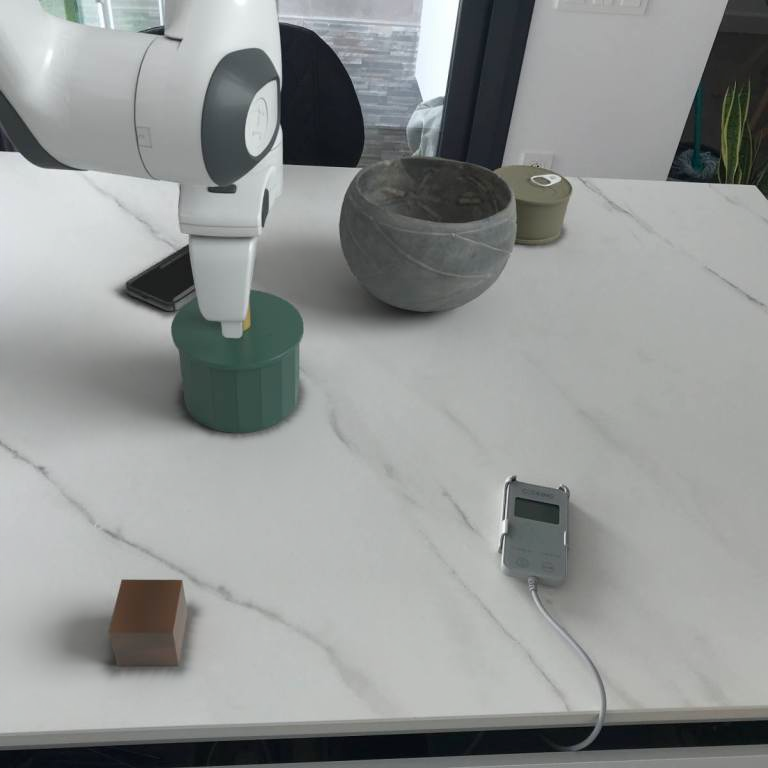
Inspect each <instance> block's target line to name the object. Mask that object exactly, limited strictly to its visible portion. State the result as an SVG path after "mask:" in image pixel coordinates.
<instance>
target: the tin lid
mask: <svg viewBox="0 0 768 768" xmlns="http://www.w3.org/2000/svg"><path fill="white" fill-rule="evenodd" d="M304 327H305V326H304V319H303V317H302V315H301V313H300V312H299V310H298V309H297V307H295V306H294V305H293V304H291V302H289V301H287V299H284V298H283V297H280V296H278V295H275V294H273V293H270V292H266V291H261V290H255V289H250V296H249V304H248V312H247V316H246V318H245V320H244V321H243V332H242V336H241V337H240V338H226V337H224V336H223V335H222V325H221V322H220V321H208V320H206V319H205V318H204V317H203V315H202V313H201V311H200V308H199V305H198V300H197V297H196V298H194V299H193V300H191V301H190V302H189V303H187V304H186V305H184V306H183V307H181V308H180V309H178V310H177V312H176V314H175V315H174V317H173V319H172V321H171V326H170V334H171V338H172V342H173V344H174V346H175V348H176V349H177V350H178V352H179V351H180V352H181V353H182V354H183V355H184V356H186V357H187V358H189V359H190V360H192V361H194V362H196V363H198V364H201V365H204V366H207V367H211V368H216V369H222V370H248V369H255V368H260V367H264V366H267V365H270V364H273V363H275V362H277V361H279V360H281V359H283V358H285V357H286V356H288V355H289V354H290V353H292V352H293V351H294V350H295V349H296V348H297V346H298V345H299V343H300V344H301V341H302V339H303V337H304V330H305V329H304Z"/></svg>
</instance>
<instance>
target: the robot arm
mask: <svg viewBox="0 0 768 768" xmlns="http://www.w3.org/2000/svg"><path fill="white" fill-rule="evenodd" d="M163 5H164V6H163V12H164V13H163V17H164V18H163V20H164V22H163V23H164V24H163V25H164V33H163V34H164V35H160V34H153V33H145V32H139V31H138V32H137V31H132V30H131V31H130V30H124V29H123V30H122V29H115V28H108V27H100V26H93V25H88V24H84V23H79V22H75V21H71V20H68V19H65V18H62V17H59V16H56V15H54V14H52V13H50V12H48V11H47V10H45V9H44V7H43V6H42V4H41V2H40V0H0V128H1V130H2V132H3V133H4V135H5V136H6V138H7V139H8V141H9V142H10V143H11V145H12V146H13V147H14V148H15V150H16V151H17V152H18V153H19V154H20V155H21V157H23V158H24V159H25V160H26V161H28V162H29V163H30V164H32V165H34V166H36V167H38V168H41V169H46V170H61V171H62V170H63V171H75V172H88V171H91V172H98V173H104V174H111V175H117V176H124V177H131V178H138V179H146V180H151V181H157V182H160V181H161V182H168V183H176V184H177V185H178V190H179V192H178V193H179V195H178V204H177V221H178V228H179V231H180V233H181V234H183V235H188V244H189V253H190V260H191V266H192V272H193V278H194V284H195V289H196V294H197V297H196V298H197V300H198V305H199V308H200V311H201V313H202V315H203V317H204V318H205V319H206V320H208V321H220V322H221V325H222V335H223V336H224V337H226V338H240V337H241V336H242V332H243V321H244V320H245V318H246V316H247V312H248V304H249V296H250V290H252V289H251V287H252V281H253V275H254V270H255V262H256V257H257V256H256V255H257V248H258V244H259V243H258V242H259V238H260V237H262V234H263V230H264V228H265V224H266V221H267V218H268V215H269V212H270V211H271V209H272V207H273V206H274V204H275V202H276V200H277V199H278V198H279V197H280V196H281V195H282V193H283V190H284V159H283V157H284V156H283V154H284V152H283V151H284V148H283V147H284V146H283V144H284V143H283V138H284V137H283V129H282V125H281V116H282V115H281V111H282V109H281V104H282V103H281V102H282V101H281V100H282V99H281V96H282V95H281V93H282V86H283V63H282V61H283V60H282V47H281V46H282V45H281V34H280V24H279V23H280V22H279V16H278V15H279V14H278V9H277V2H276V0H164V2H163Z"/></svg>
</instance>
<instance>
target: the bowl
mask: <svg viewBox="0 0 768 768" xmlns="http://www.w3.org/2000/svg"><path fill="white" fill-rule="evenodd" d="M493 171H494V170H492V169H489V168H487V167H484V166H480V165H479V164H474V163H471V162H465V161H459V160H455V159H449V158H443V157H440V156H439V157H438V156H427V155H426V156H425V155H410V156H409V155H408V156H400V157H393V158H390V159H384V160H380V161H378V162H375V163H374V162H373V163H371V164H368V165H366V166H364V167H362V168H361V169H360V170H358V171H357V173H356V174H355V175H354V177H353V178H352V179H351V181H350V183H349V185H348V187H347V190H345V191H346V192H345V193H344V197H343V200H342V204H341V209H340V214H339V222H338V233H339V234H338V235H339V240H340V241H339V242H340V247H341V251H342V255H343V258H344V260H345V262H346V264H347V265H348V268H349V269H350V272H351V273H352V275H353V276H354V277H355V278H356V279H357V281H358V282H359V283H360V284H361V286H362V287H363V289H365V290H366V291H367V292H368V293H370V294H371V295H372V296H373V297H374V298H376V299H377V300H379V301H381V302H383V303H385V304H387V305H390V306H392V307H394V308H395V307H396V308H399V309H403V310H407V311H412V312H422V313H428V312H445V311H449V310H454V309H457V308H459V307H463V306H464V305H466V304H468V303H470V302H472V301H473V300H475V299H477V298H479V297H481V295H483V294H484V293H485V292H486V291H488V290H489V289H490V288H491V287H492V286H493V285H494V284H495V283H496V282H497V280H499V278H500V276H501V275H502V273H503V272H504V269H505V268H506V266H507V264H508V262H509V259H510V257H511V253H513V251H514V247H515V244H516V243H515V239H516V231H517V224H516V221H517V213H516V201H515V197H514V193H513V190H512V188H511V186H510V185H509V184H508V183H507V182H506V181H505V180H504V179H503V178H502V177H500V175H498V174H496V173H495V172H493Z"/></svg>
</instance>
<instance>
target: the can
mask: <svg viewBox="0 0 768 768" xmlns="http://www.w3.org/2000/svg"><path fill="white" fill-rule="evenodd" d="M492 171H493V172H495V173H496V174H498V175H500V177H502V178H503V179H504V180H505V181H506V182H507V183H508V184H509V185H510V186H511V188H512V190H513V193H514V197H515V201H516V213H517V221H516V224H517V231H516V239H515V243H514V244H520V245H526V246H528V245H529V246H537V245H538V246H539V245H544V244H548V243H551V242H554V241H555V240H557V239H558V238H559V237H560V235H561V233H562V228H563V225H564V220H565V217H566V213H567V209H568V205H569V201H570V198H571V196H572V195H573V186H572V184H571V182H570V181H569V180H568V179H566V177H564V176H563V175H561V174H559V173H557V172H555V171H552V170H549V169H546V168H543V167H539V166H534V165H525V164H524V165H523V164H514V165H505V166H502V167H499V168H496V169H494V170H492Z"/></svg>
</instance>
